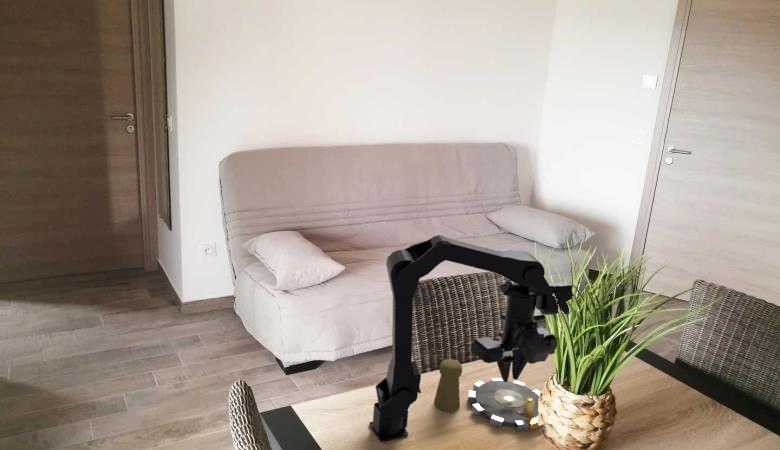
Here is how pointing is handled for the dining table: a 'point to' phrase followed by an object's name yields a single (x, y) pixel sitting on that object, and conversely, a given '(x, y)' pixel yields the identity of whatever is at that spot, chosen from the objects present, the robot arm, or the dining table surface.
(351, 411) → the dining table surface
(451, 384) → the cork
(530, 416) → the sprocket
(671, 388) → the dining table surface
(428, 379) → the dining table surface
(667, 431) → the dining table surface
